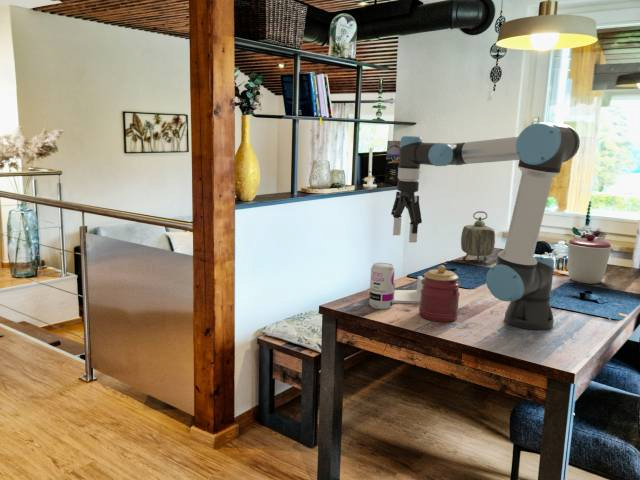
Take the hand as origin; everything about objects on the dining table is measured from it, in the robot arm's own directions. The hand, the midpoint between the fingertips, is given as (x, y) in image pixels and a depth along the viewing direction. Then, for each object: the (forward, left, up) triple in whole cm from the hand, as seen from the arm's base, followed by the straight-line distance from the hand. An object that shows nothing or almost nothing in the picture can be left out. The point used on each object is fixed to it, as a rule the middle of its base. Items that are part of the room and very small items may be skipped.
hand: (404, 238), depth 202 cm
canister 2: (+32, -87, -23) cm, 96 cm away
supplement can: (-10, +9, -23) cm, 26 cm away
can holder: (+1, -2, -23) cm, 23 cm away
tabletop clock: (+66, -50, -23) cm, 86 cm away
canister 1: (-20, -9, -23) cm, 31 cm away
